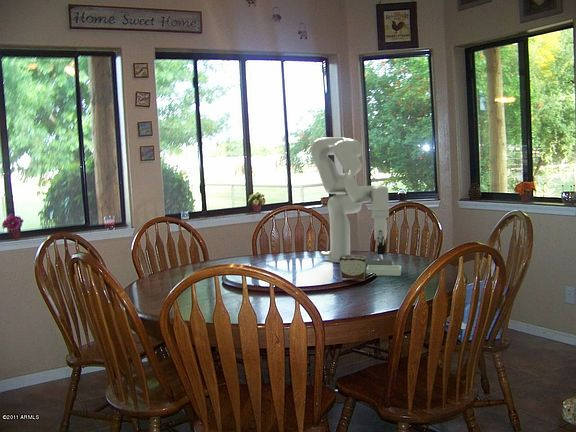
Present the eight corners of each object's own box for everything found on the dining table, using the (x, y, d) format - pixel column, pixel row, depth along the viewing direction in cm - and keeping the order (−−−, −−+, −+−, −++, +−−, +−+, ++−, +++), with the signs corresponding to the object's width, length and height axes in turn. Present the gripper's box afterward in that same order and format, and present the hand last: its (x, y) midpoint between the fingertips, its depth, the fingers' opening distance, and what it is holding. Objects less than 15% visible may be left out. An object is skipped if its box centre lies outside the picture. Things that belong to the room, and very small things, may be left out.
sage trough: (366, 275, 276) (366, 269, 276) (367, 270, 285) (367, 265, 284) (400, 275, 273) (400, 269, 273) (401, 271, 282) (401, 265, 282)
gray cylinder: (368, 269, 288) (368, 259, 287) (369, 267, 292) (369, 258, 292) (393, 270, 286) (393, 260, 285) (393, 268, 290) (393, 258, 290)
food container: (370, 278, 269) (370, 254, 268) (367, 281, 263) (367, 257, 262) (342, 277, 273) (341, 253, 272) (338, 280, 267) (337, 256, 266)
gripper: (373, 212, 295) (374, 249, 297) (370, 216, 278) (372, 255, 280) (389, 212, 294) (391, 249, 295) (388, 215, 277) (389, 255, 278)
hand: (381, 252), depth 287 cm, fingers open, 9 cm apart
